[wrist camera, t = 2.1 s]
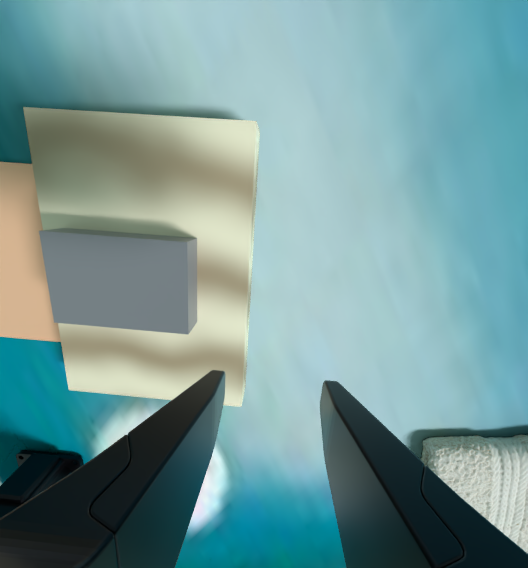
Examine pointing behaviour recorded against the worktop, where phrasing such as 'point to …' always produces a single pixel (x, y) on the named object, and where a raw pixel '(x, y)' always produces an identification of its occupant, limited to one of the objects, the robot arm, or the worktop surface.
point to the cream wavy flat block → (156, 221)
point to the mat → (22, 259)
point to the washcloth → (486, 477)
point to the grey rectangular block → (121, 279)
